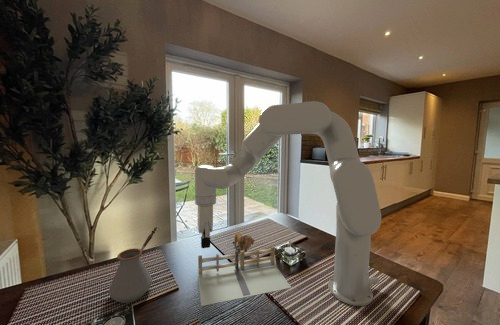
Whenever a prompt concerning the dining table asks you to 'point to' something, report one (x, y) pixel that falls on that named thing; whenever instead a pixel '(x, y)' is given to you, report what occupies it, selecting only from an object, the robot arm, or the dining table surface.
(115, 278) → the coffee pot
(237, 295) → the card
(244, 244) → the lion figurine
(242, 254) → the fixed fence
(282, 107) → the robot arm
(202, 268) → the fence panel
